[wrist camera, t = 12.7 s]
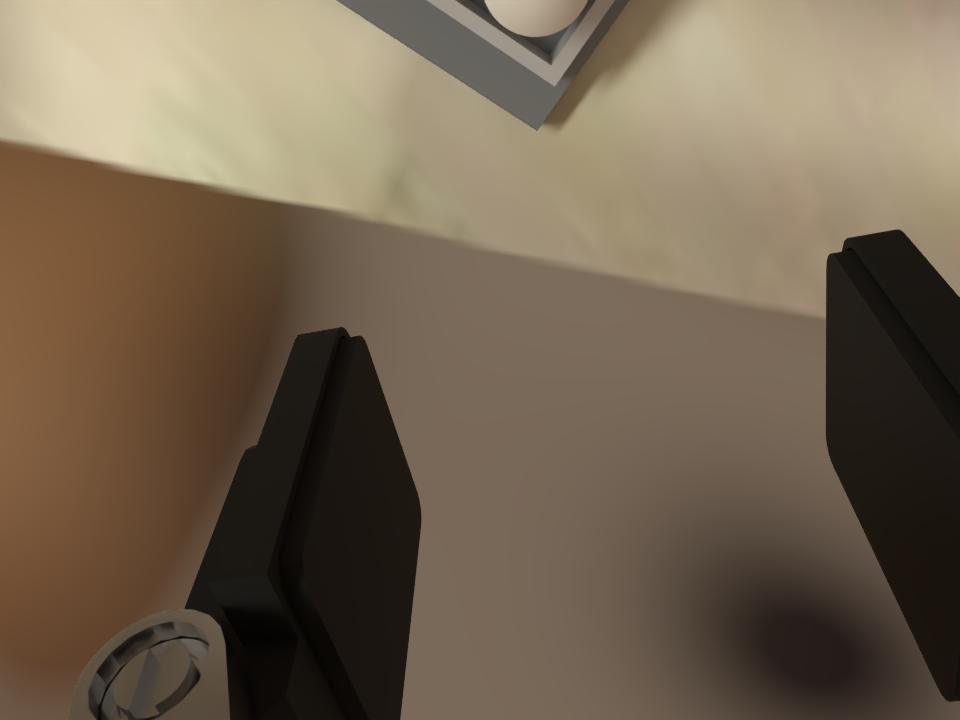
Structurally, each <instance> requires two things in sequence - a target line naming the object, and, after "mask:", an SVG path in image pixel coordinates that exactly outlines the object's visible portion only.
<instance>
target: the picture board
mask: <svg viewBox="0 0 960 720" xmlns="http://www.w3.org/2000/svg"><path fill="white" fill-rule="evenodd" d="M337 1H338V2H340V3H341V4H343V5H344V6H346V7H348V8H349V9H351V10H352V11H354V12H355V13H357V14H358V15H360V16H361V17H363V18H364V19H366V20H367V21H369V22H371V23H372V24H374V25H375V26H377V27H378V28H380V29H381V30H383V31H384V32H386V33H387V34H389V35H391V36H392V37H394V38H395V39H397V40H398V41H400V42H401V43H403V44H404V45H406V46H407V47H409V48H410V49H412V50H414V51H415V52H417V53H418V54H420V55H421V56H423V57H424V58H426V59H427V60H429V61H430V62H432V63H434V64H435V65H437V66H438V67H440V68H441V69H443V70H444V71H446V72H447V73H449V74H450V75H452V76H454V77H455V78H457V79H458V80H460V81H461V82H463V83H464V84H466V85H467V86H469V87H470V88H472V89H473V90H475V91H477V92H478V93H480V94H481V95H483V96H484V97H486V98H487V99H489V100H490V101H492V102H493V103H495V104H497V105H498V106H500V107H501V108H503V109H504V110H506V111H507V112H509V113H510V114H512V115H513V116H515V117H517V118H518V119H520V120H521V121H523V122H524V123H526V124H527V125H529V126H530V127H532V128H533V129H535V130H536V131H537V130H538V129H539V128H540V126H541V125H542V123H543V122H544V121H545V119H546V118H547V116H548V115H549V113H550V112H551V111H552V109H553V108H554V106H555V105H556V103H557V102H558V101H559V99H560V98H561V96H562V95H563V94H564V92H565V91H566V89H567V88H568V86H569V85H570V84H571V82H572V81H573V79H574V78H575V76H576V75H577V74H578V72H579V71H580V69H581V68H582V67H583V65H584V64H585V62H586V61H587V59H588V58H589V57H590V55H591V54H592V52H593V51H594V49H595V48H596V47H597V45H598V44H599V42H600V41H601V40H602V38H603V37H604V35H605V34H606V32H607V31H608V30H609V28H610V27H611V25H612V24H613V22H614V21H615V20H616V18H617V17H618V15H619V14H620V13H621V11H622V10H623V8H624V7H625V5H626V4H627V3H628V1H629V0H588V1H587V3H586V5H585V7H584V9H583V10H582V12H581V13H580V14H579V16H578V17H577V18H576V19H575V20H574V21H573V22H572V23H571V24H570V25H568V26H567V27H566V28H564V29H562V30H561V31H559V32H556V33H554V34H551V35H547V36H542V37H529V36H523V35H519V34H516V33H514V32H512V31H510V30H508V29H507V28H505V27H504V26H502V25H501V24H500V23H499V22H498V21H497V20H496V19H495V18H494V17H493V15H492V14H491V13H490V11H489V9H488V7H487V5H486V3H485V0H337Z"/></svg>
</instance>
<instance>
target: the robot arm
mask: <svg viewBox="0 0 960 720" xmlns="http://www.w3.org/2000/svg"><path fill="white" fill-rule="evenodd" d="M826 441H827V447H828V452H829V456H830V459H831V462H832V464H833V467H834V469H835V471H836V473H837V475H838V477H839V479H840V481H841V484H842V485H843V488H844V490H845V492H846V494H847V496H848V498H849V500H850V502H851V505H852V507H853V509H854V511H855V513H856V515H857V517H858V519H859V521H860V524H861V526H862V528H863V530H864V532H865V534H866V536H867V539H868V541H869V543H870V545H871V547H872V549H873V551H874V553H875V555H876V558H877V560H878V562H879V564H880V566H881V568H882V570H883V573H884V575H885V577H886V579H887V581H888V583H889V585H890V587H891V590H892V592H893V594H894V596H895V598H896V600H897V602H898V604H899V606H900V609H901V611H902V613H903V615H904V617H905V619H906V621H907V623H908V626H909V628H910V630H911V632H912V634H913V636H914V638H915V640H916V643H917V645H918V647H919V649H920V651H921V653H922V655H923V657H924V659H925V662H926V664H927V666H928V668H929V670H930V672H931V674H932V676H933V679H934V681H935V683H936V685H937V687H938V689H939V691H940V693H941V694H942V696H943V697H944V698H945V699H946V700H947V701H949V702H953V701H960V297H959V296H958V295H957V294H956V293H955V292H954V290H953V289H952V288H951V287H950V286H949V285H948V283H947V282H946V281H945V280H944V279H943V278H942V276H941V275H940V274H939V273H938V272H937V271H936V270H935V268H934V267H933V266H932V265H931V264H930V263H929V261H928V260H927V259H926V258H925V257H924V256H923V254H922V253H921V252H920V251H919V250H918V249H917V247H916V246H915V245H914V244H913V243H912V242H911V240H910V239H909V238H908V237H907V236H906V235H905V233H903V232H902V231H901V230H891V231H886V232H880V233H874V234H868V235H863V236H857V237H851V238H847V239H846V240H845V241H844V244H843V248H842V252H838V253H832V254H830V255H829V256H828V259H827V268H826ZM420 529H421V507H420V501H419V497H418V493H417V490H416V487H415V484H414V481H413V478H412V475H411V472H410V469H409V467H408V464H407V461H406V458H405V455H404V452H403V449H402V446H401V443H400V440H399V437H398V434H397V431H396V429H395V426H394V423H393V420H392V417H391V414H390V411H389V408H388V405H387V402H386V400H385V396H384V393H383V391H382V388H381V385H380V382H379V379H378V376H377V373H376V370H375V367H374V364H373V361H372V358H371V355H370V352H369V350H368V347H367V344H366V342H365V340H364V339H363V337H362V336H355V337H350V336H349V334H348V332H347V331H346V329H344V328H343V327H339V328H334V329H328V330H322V331H317V332H311V333H305V334H301V335H298V336H297V338H296V339H295V342H294V345H293V347H292V350H291V353H290V356H289V358H288V361H287V364H286V367H285V369H284V373H283V375H282V378H281V380H280V383H279V386H278V389H277V391H276V394H275V397H274V400H273V403H272V405H271V408H270V411H269V414H268V417H267V419H266V422H265V425H264V427H263V430H262V433H261V436H260V439H259V441H258V444H257V445H256V446H252V447H250V448H248V449H247V450H246V451H245V453H244V455H243V456H242V458H241V460H240V463H239V465H238V468H237V471H236V474H235V476H234V479H233V481H232V484H231V487H230V489H229V492H228V495H227V497H226V500H225V502H224V505H223V508H222V511H221V513H220V516H219V518H218V521H217V524H216V526H215V529H214V532H213V534H212V537H211V540H210V542H209V545H208V548H207V550H206V553H205V556H204V558H203V561H202V563H201V566H200V569H199V571H198V574H197V577H196V579H195V582H194V585H193V587H192V590H191V593H190V595H189V598H188V601H187V603H186V606H185V609H181V610H179V609H176V610H175V609H173V610H169V611H165V612H161V613H158V614H154V615H150V616H148V617H146V618H144V619H142V620H140V621H138V622H136V623H134V624H132V625H130V626H128V627H127V628H125V629H124V630H123V631H121V632H120V633H119V634H117V635H116V636H114V637H113V638H112V639H111V640H109V641H108V642H107V643H106V644H105V645H104V646H103V647H102V648H101V649H100V650H99V651H98V652H97V653H96V654H95V656H94V657H93V658H92V659H91V660H90V661H89V663H88V664H87V666H86V668H85V669H84V671H83V672H82V674H81V676H80V677H79V679H78V681H77V683H76V687H75V691H74V694H73V697H72V701H71V708H70V715H69V720H400V716H401V707H402V698H403V687H404V679H405V670H406V669H405V668H406V660H407V651H408V642H409V633H410V623H411V614H412V604H413V594H414V586H415V576H416V567H417V558H418V549H419V540H420Z"/></svg>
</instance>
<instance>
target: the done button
mask: <svg viewBox="0 0 960 720" xmlns="http://www.w3.org/2000/svg"><path fill="white" fill-rule="evenodd" d="M587 1H588V0H485V3H486V5H487V7H488V9H489V11H490V13H491V14H492V15H493V17H494V18H495V19H496V20H497V21H498V22H499V23H500V24H501V25H502V26H504V27H505V28H507V29H508V30H510V31H512V32H514V33H516V34H519V35H523V36H529V37H542V36H547V35H551V34H554V33H556V32H559V31H561V30H562V29H564V28H566V27H567V26H568V25H570V24H571V23H572V22H573V21H574V20H575V19H576V18H577V17H578V16H579V14H580V13H581V12H582V10H583V9H584V7H585V5H586V3H587Z"/></svg>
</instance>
